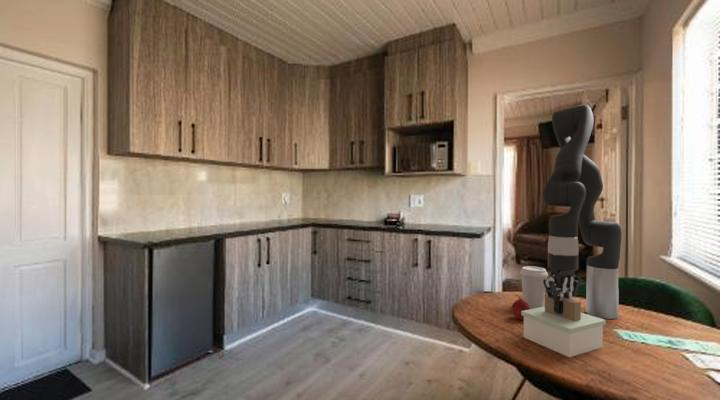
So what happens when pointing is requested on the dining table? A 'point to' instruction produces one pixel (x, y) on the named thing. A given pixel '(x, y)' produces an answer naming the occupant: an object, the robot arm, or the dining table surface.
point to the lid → (564, 316)
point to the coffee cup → (533, 285)
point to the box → (563, 338)
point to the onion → (519, 308)
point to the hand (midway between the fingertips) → (562, 312)
